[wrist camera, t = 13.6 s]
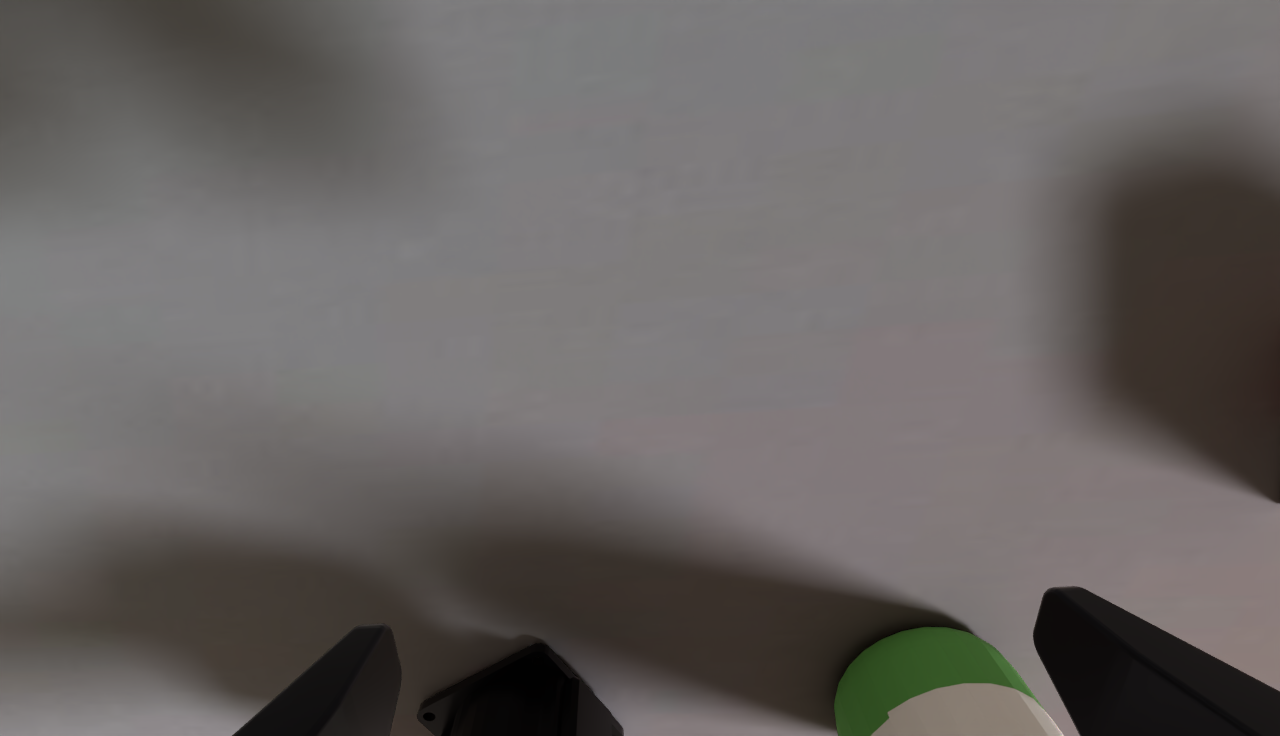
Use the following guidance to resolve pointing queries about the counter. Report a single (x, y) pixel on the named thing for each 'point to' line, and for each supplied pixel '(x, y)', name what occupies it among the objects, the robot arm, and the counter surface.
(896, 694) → the wine bottle
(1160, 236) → the counter surface
